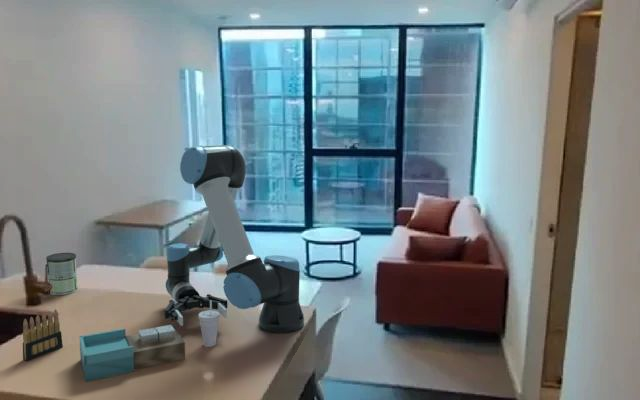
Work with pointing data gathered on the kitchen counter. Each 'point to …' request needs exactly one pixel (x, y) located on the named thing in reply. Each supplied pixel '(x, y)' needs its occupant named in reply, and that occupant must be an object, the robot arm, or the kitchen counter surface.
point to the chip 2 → (165, 332)
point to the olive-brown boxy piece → (156, 351)
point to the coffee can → (62, 273)
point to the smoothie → (209, 326)
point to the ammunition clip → (41, 336)
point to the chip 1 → (148, 336)
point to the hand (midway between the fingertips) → (204, 317)
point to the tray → (105, 354)
